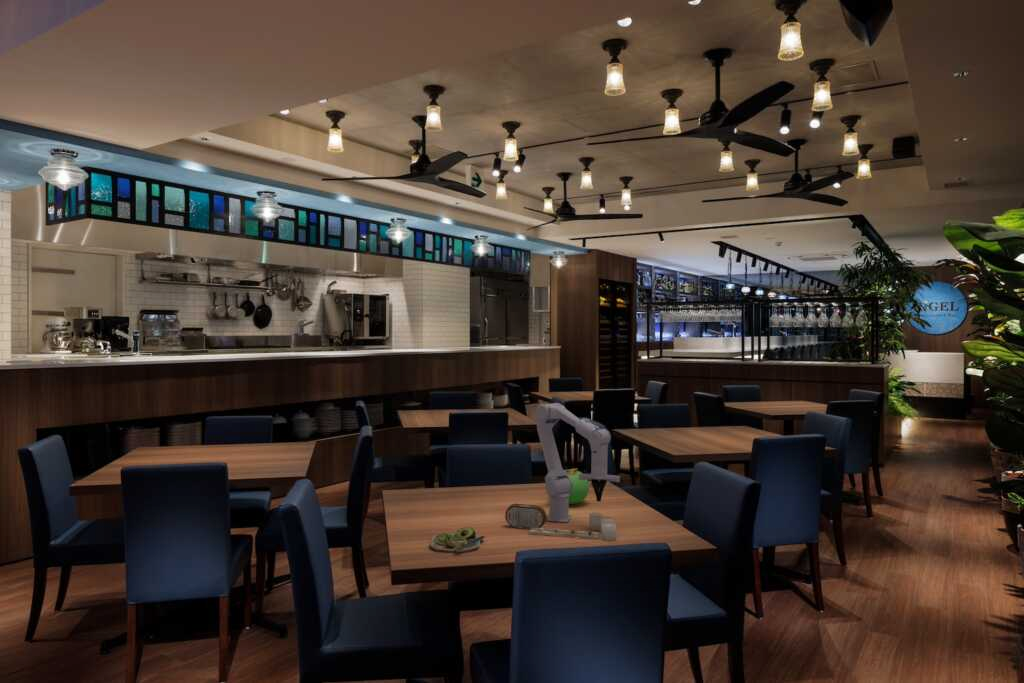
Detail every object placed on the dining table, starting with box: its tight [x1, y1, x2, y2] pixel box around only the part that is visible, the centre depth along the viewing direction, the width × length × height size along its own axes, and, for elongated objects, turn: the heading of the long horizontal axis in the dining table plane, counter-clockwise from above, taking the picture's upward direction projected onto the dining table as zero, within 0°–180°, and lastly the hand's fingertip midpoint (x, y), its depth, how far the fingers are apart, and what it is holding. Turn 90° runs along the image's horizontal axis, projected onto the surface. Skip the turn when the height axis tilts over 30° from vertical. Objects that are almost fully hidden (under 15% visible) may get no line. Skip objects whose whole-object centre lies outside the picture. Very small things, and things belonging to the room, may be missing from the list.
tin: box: [504, 503, 547, 529], centre depth 250 cm, size 15×3×8 cm, turn 74°
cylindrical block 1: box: [588, 512, 604, 531], centre depth 250 cm, size 5×5×5 cm
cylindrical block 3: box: [600, 522, 617, 542], centre depth 237 cm, size 5×5×5 cm
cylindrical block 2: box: [599, 516, 616, 535], centre depth 244 cm, size 5×5×5 cm
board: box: [528, 527, 600, 540], centre depth 241 cm, size 5×24×1 cm, turn 77°
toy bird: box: [555, 468, 590, 505], centre depth 288 cm, size 18×17×15 cm
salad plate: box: [429, 526, 486, 553], centre depth 227 cm, size 19×18×5 cm
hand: (598, 500), depth 248 cm, fingers closed
